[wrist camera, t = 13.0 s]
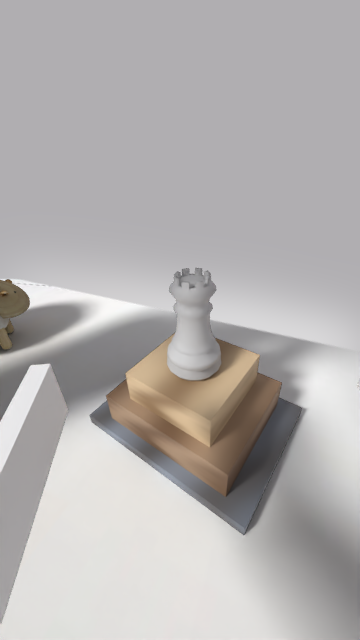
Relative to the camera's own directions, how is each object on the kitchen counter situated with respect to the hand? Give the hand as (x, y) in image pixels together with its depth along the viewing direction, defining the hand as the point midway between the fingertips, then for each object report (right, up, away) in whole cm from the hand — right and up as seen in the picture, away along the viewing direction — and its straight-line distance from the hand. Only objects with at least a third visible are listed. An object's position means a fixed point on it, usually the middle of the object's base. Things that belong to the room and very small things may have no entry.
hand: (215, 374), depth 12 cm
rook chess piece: (0, -2, +12) cm, 12 cm away
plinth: (0, -7, +16) cm, 17 cm away
